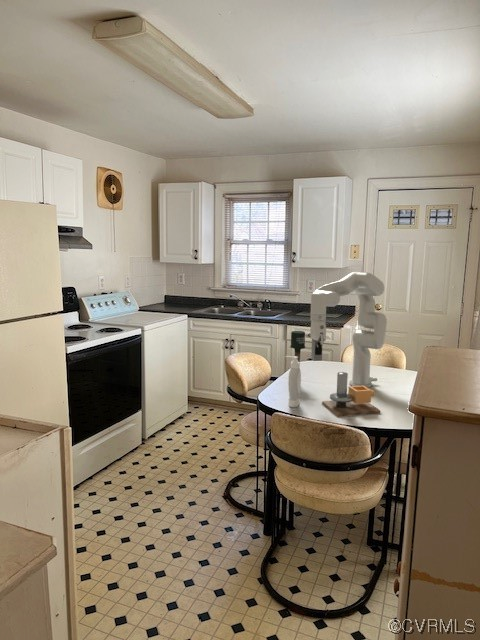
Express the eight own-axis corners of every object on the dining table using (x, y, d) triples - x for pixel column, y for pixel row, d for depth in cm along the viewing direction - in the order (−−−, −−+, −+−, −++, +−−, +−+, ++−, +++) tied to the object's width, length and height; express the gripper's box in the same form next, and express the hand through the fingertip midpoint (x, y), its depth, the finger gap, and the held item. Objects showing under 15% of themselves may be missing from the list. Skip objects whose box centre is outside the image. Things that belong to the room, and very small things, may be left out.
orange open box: (369, 396, 237) (369, 385, 236) (377, 401, 229) (378, 389, 228) (348, 398, 234) (348, 386, 233) (355, 403, 226) (356, 391, 225)
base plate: (362, 401, 242) (362, 398, 242) (380, 413, 225) (380, 410, 224) (322, 404, 237) (322, 401, 237) (337, 416, 220) (337, 413, 219)
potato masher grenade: (294, 386, 267) (296, 333, 262) (286, 382, 274) (287, 331, 270) (307, 384, 271) (308, 332, 266) (298, 380, 278) (300, 330, 273)
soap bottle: (287, 399, 244) (288, 353, 240) (302, 401, 241) (303, 354, 237) (280, 407, 232) (281, 358, 228) (295, 409, 229) (297, 360, 225)
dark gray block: (318, 358, 239) (319, 339, 238) (321, 360, 236) (322, 340, 234) (311, 358, 239) (311, 339, 237) (314, 360, 235) (314, 341, 233)
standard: (346, 402, 236) (348, 369, 233) (356, 409, 225) (358, 375, 223) (325, 403, 233) (327, 370, 231) (335, 411, 223) (336, 377, 220)
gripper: (332, 320, 226) (330, 357, 229) (318, 314, 243) (317, 349, 246) (317, 320, 225) (316, 358, 228) (305, 315, 241) (303, 350, 244)
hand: (316, 353), depth 237 cm, fingers closed on dark gray block, 4 cm apart
